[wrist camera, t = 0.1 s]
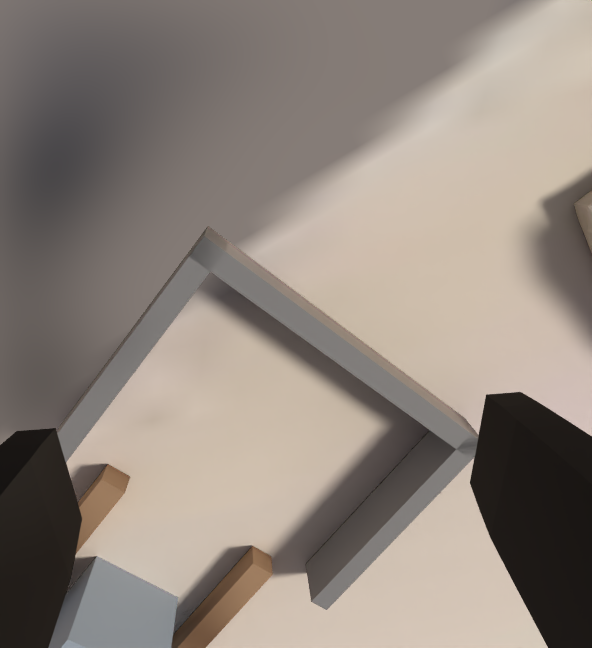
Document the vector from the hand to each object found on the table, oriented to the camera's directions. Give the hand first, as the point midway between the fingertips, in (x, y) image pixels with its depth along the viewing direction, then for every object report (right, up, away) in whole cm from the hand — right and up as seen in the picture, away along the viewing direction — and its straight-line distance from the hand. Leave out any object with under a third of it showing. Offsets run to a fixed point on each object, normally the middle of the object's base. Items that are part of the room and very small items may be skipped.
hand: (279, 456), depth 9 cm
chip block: (-8, -10, +14) cm, 19 cm away
